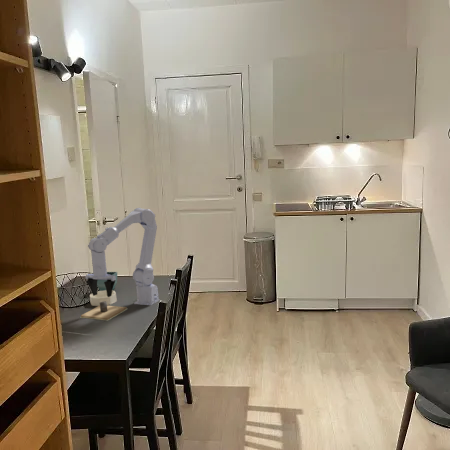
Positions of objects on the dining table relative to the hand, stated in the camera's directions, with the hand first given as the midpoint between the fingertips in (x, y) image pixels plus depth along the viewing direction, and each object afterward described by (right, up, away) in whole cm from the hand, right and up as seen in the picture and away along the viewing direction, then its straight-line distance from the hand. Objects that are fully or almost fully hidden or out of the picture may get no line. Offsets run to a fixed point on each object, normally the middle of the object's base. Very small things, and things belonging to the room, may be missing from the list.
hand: (102, 295), depth 209 cm
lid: (+1, -8, +1) cm, 8 cm away
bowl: (-4, -6, +17) cm, 19 cm away
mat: (+1, -8, +1) cm, 8 cm away
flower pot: (-6, -3, +36) cm, 37 cm away
